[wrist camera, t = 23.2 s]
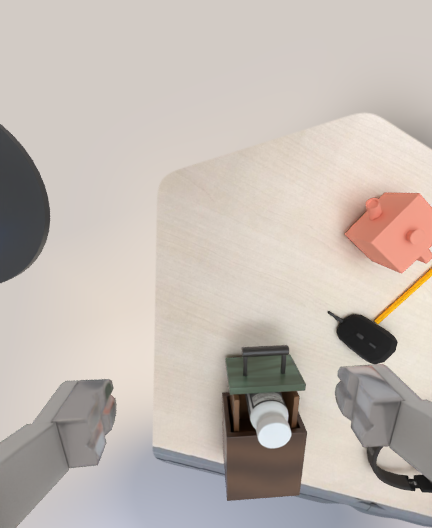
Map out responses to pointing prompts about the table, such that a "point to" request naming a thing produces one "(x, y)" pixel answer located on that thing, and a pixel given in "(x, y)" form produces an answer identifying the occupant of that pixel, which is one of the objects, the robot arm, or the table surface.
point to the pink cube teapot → (395, 230)
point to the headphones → (396, 479)
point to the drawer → (262, 382)
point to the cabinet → (261, 462)
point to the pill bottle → (269, 418)
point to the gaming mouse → (366, 338)
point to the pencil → (404, 296)
